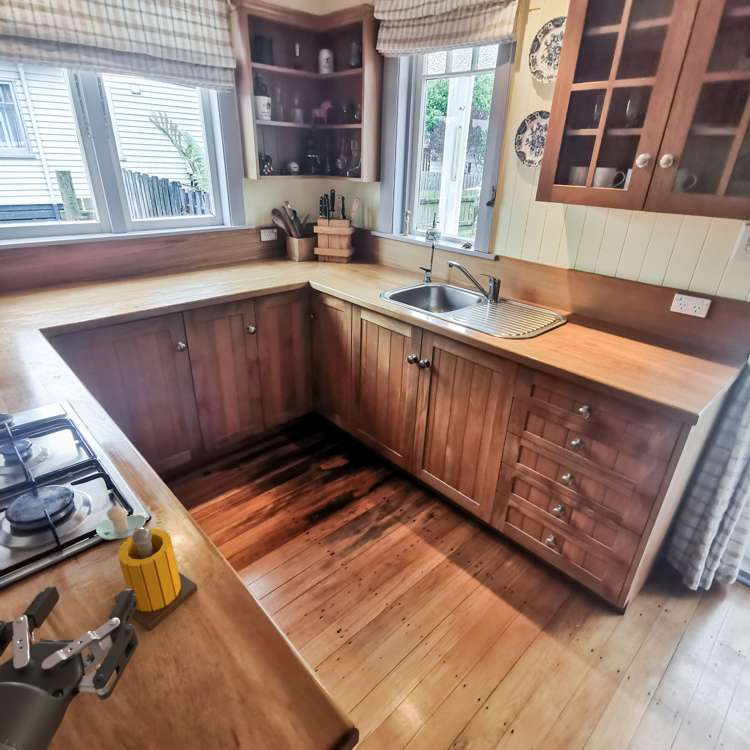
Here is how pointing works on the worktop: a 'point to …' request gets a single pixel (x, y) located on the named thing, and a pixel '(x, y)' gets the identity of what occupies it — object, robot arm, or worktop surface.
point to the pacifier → (119, 524)
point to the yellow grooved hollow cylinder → (151, 572)
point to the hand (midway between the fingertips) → (92, 592)
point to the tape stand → (155, 617)
